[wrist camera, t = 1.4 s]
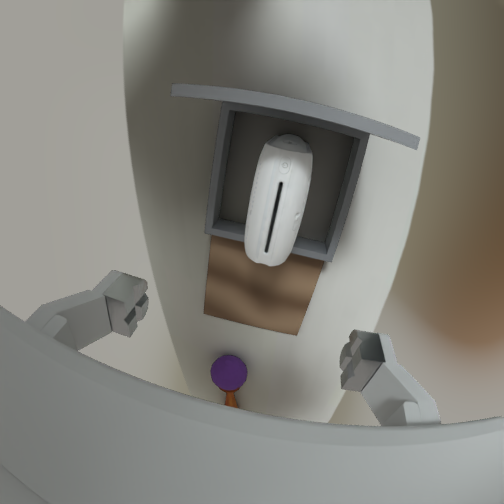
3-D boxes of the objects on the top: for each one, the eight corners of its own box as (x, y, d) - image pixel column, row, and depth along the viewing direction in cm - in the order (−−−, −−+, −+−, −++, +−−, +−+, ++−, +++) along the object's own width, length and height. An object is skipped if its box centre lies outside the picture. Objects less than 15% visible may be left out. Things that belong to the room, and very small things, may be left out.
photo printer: (273, 129, 28) (256, 138, 17) (312, 137, 28) (321, 152, 17) (256, 215, 33) (233, 271, 22) (292, 224, 33) (286, 283, 22)
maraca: (212, 419, 51) (202, 370, 40) (223, 398, 56) (218, 343, 45) (239, 429, 49) (239, 383, 39) (249, 407, 54) (252, 354, 43)
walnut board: (213, 232, 35) (211, 234, 34) (324, 258, 34) (324, 260, 34) (204, 310, 41) (203, 313, 41) (296, 332, 40) (296, 335, 40)
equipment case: (230, 95, 27) (172, 83, 14) (364, 125, 26) (420, 137, 13) (211, 223, 34) (159, 295, 21) (329, 250, 34) (342, 338, 20)
